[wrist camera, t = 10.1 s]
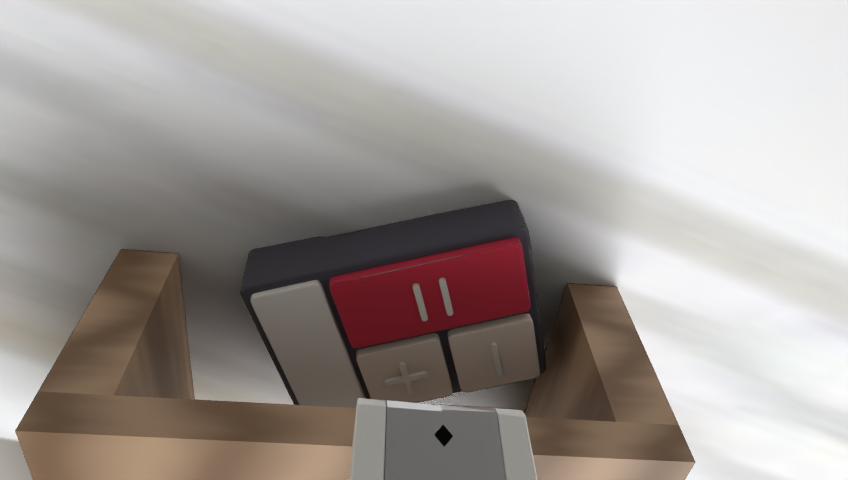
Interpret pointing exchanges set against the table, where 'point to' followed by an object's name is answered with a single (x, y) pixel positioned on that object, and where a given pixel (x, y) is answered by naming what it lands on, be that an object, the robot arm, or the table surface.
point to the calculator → (401, 308)
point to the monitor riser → (318, 425)
